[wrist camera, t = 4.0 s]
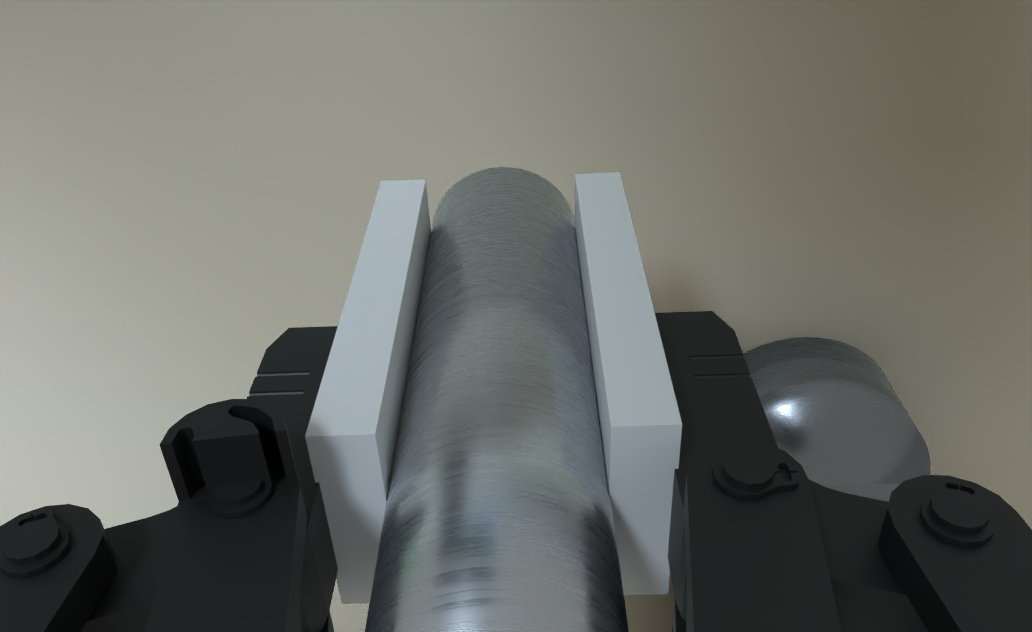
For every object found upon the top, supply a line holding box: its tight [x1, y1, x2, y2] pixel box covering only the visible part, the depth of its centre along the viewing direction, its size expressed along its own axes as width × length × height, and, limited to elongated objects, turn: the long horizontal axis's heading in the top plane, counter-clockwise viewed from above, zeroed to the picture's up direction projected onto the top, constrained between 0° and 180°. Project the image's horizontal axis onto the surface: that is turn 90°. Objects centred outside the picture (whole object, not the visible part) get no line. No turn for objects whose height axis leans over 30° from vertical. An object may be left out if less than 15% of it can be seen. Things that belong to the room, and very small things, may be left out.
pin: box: [365, 167, 628, 632], centre depth 11 cm, size 3×3×13 cm
